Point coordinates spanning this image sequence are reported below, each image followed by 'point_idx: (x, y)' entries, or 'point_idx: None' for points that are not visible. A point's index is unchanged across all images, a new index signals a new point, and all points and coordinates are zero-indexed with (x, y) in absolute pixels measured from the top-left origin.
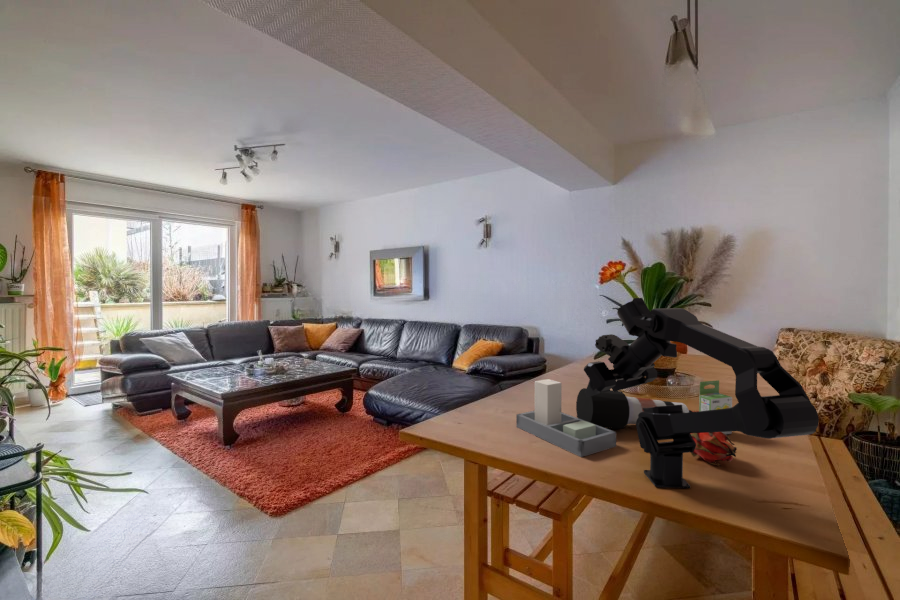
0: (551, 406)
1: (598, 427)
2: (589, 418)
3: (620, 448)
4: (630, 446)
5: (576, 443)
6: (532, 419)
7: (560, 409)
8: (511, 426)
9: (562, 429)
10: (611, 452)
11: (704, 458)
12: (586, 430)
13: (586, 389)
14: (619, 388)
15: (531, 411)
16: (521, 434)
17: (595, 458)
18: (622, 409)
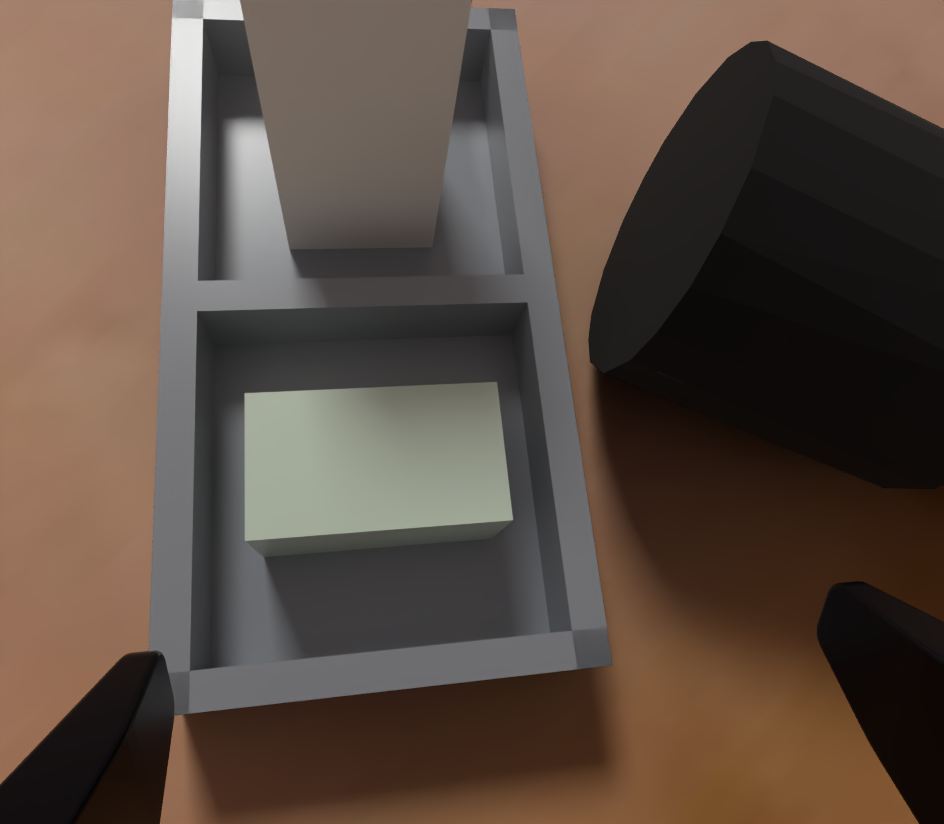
0: (319, 129)
1: (555, 507)
2: (611, 342)
3: (581, 704)
4: (676, 708)
5: None
6: (197, 129)
7: (435, 160)
8: None
9: (348, 327)
10: (463, 735)
11: None
12: (392, 533)
13: (46, 743)
14: (901, 759)
15: None
16: (123, 184)
17: (265, 774)
18: (919, 445)
